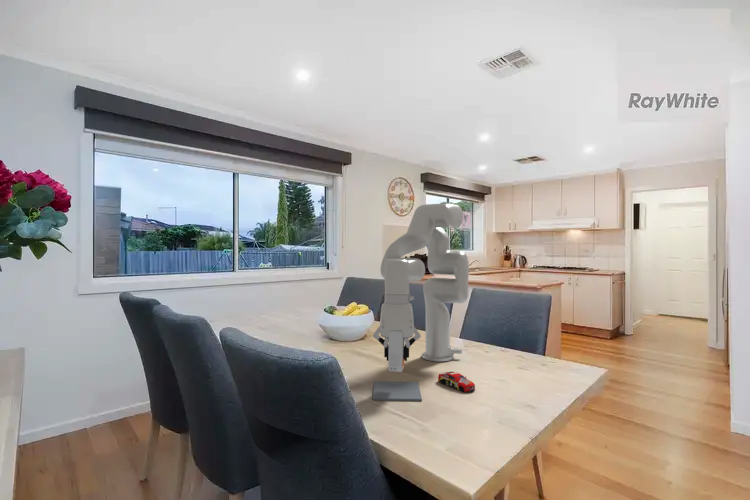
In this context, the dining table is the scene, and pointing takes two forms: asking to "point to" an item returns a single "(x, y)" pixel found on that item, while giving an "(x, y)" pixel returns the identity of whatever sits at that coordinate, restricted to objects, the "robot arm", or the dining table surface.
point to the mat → (396, 391)
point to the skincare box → (396, 351)
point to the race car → (456, 381)
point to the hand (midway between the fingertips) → (396, 359)
